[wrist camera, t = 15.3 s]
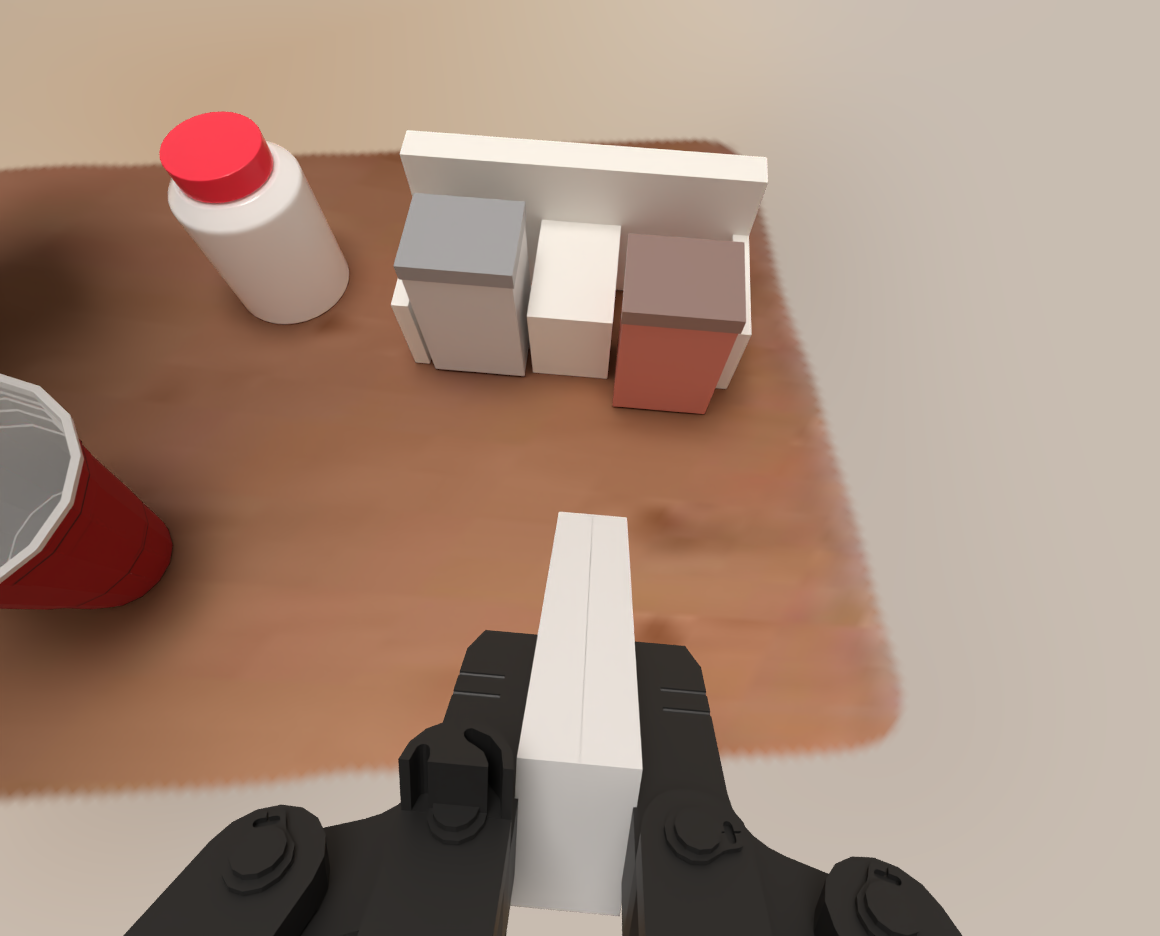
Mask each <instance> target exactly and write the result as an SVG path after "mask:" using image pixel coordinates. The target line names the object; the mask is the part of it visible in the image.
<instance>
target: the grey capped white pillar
mask: <svg viewBox="0 0 1160 936" xmlns="http://www.w3.org/2000/svg"><path fill="white" fill-rule="evenodd" d="M525 222H526V205H525V201H512V200H499V199H487V198H474V197H461V196H448V195H435V194H423V193H414V194H413V198H412V201H411V205H410V208H409V212H408V216H407V219H406V223H405V227H404V230H403V234H402V237H401V241H400V245H399V248H398V252H397V256H396V259H395V263H394V269H395V271H396V274H397V276H398V279H400V280H402V282H403V285H404V287H405V290H406V293H407V295H408V298H409V300H410V303H411V306H412V308H413V311H414V314H415V316H416V319H417V321H418V324H419V327H420V329H421V332H422V334H423V337H424V340H425V342H426V345H427V348H428V350H429V353H430V355H431V358H432V361H433V363H434V366H435V368H436V369H447V370H458V371H470V372H482V373H493V374H505V375H517V376H525V370H526V363H527V357H528V350H529V343H530V341H529V332H528V323H527V312H528V305H529V299H530V293H531V281H530V270H529V259H528V249H527V238H526V227H525Z"/></svg>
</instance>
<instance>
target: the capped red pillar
mask: <svg viewBox="0 0 1160 936" xmlns="http://www.w3.org/2000/svg"><path fill="white" fill-rule="evenodd" d="M745 324H746V290H745V245H744V242H734V241H721V240H709V239H696V238H684V237H671V236H658V235H646V234H633V233H629V234H628V242H627V253H626V266H625V278H624V291H623V301H622V309H621V318H620V326H619V335H618V344H617V356H616V369H615V381H614V393H613V406H617V407H629V408H640V409H652V410H664V411H675V412H687V413H698V414H705V412H706V409H707V407H708V404H709V402H710V400H711V397H712V395H713V393H714V390H715V388H716V386H717V383H718V381H719V378H720V376H721V374H722V371H723V369H724V367H725V364H726V362H727V359H728V357H729V355H730V352H731V350H732V348H733V345H734V343H735V341H736V338H737V336H738V334H741V333H742V330H743V328H744V326H745Z"/></svg>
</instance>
